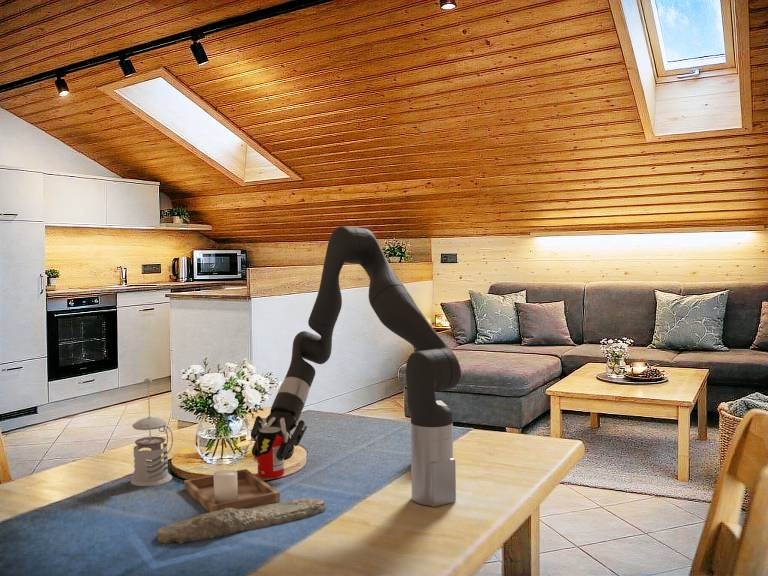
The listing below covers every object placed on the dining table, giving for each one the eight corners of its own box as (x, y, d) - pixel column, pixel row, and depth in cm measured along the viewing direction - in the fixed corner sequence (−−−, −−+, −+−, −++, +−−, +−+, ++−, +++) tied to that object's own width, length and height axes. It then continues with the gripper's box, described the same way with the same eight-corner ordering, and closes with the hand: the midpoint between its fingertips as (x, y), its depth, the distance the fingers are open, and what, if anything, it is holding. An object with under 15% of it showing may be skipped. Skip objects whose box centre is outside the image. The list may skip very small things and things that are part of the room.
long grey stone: (335, 525, 152) (315, 513, 161) (335, 500, 153) (315, 489, 161) (163, 554, 135) (151, 538, 144) (163, 525, 135) (152, 511, 144)
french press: (121, 482, 177) (117, 380, 176) (157, 469, 188) (153, 372, 186) (151, 488, 173) (147, 383, 171) (186, 474, 183) (182, 374, 182)
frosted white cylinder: (241, 506, 157) (240, 474, 157) (218, 510, 155) (218, 478, 154) (233, 499, 162) (232, 468, 161) (211, 503, 159) (210, 472, 159)
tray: (279, 506, 160) (279, 492, 160) (212, 520, 152) (212, 506, 152) (246, 481, 177) (246, 469, 177) (184, 493, 169) (184, 480, 169)
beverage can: (275, 472, 184) (274, 424, 183) (289, 478, 179) (287, 429, 178) (253, 477, 180) (251, 429, 179) (266, 483, 175) (265, 434, 174)
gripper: (260, 389, 188) (235, 446, 178) (310, 392, 182) (286, 452, 172) (272, 405, 193) (248, 462, 183) (320, 409, 187) (298, 468, 177)
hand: (267, 457), depth 177 cm, fingers closed on beverage can, 6 cm apart
